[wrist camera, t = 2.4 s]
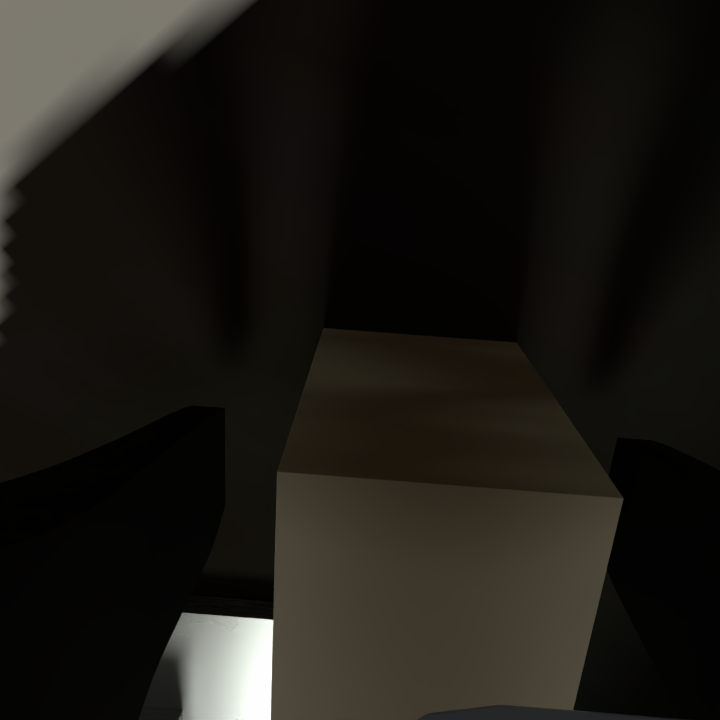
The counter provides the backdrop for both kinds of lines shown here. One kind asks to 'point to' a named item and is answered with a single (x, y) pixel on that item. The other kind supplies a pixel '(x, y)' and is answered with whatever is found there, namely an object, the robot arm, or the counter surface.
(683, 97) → the counter surface
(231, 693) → the socket plate
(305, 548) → the beige rectangular block
